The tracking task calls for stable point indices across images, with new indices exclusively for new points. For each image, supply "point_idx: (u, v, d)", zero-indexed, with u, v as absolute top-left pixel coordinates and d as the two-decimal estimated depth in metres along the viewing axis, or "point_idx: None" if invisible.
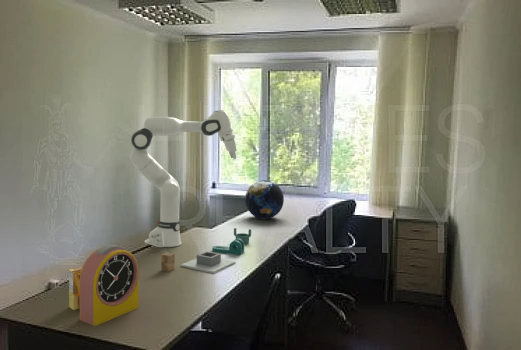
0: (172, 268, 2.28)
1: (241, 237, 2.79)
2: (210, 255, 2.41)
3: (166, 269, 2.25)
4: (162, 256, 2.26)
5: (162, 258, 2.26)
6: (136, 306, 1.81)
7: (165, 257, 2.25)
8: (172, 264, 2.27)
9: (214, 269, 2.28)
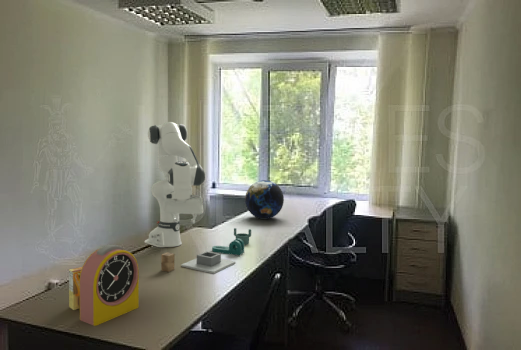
0: (172, 268, 2.28)
1: (241, 237, 2.79)
2: (210, 255, 2.41)
3: (166, 269, 2.25)
4: (162, 256, 2.26)
5: (162, 258, 2.26)
6: (136, 306, 1.81)
7: (165, 257, 2.25)
8: (172, 264, 2.27)
9: (214, 269, 2.28)
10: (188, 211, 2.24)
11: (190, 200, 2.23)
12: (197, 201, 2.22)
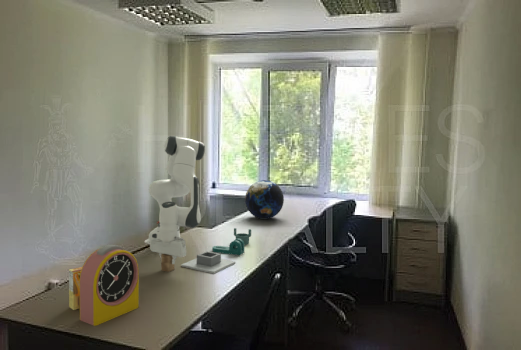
0: (172, 268, 2.28)
1: (241, 237, 2.79)
2: (210, 255, 2.41)
3: (166, 269, 2.25)
4: (162, 256, 2.26)
5: (162, 258, 2.26)
6: (136, 306, 1.81)
7: (165, 257, 2.25)
8: (172, 264, 2.27)
9: (214, 269, 2.28)
10: (171, 253, 2.24)
11: (173, 242, 2.23)
12: (179, 244, 2.21)
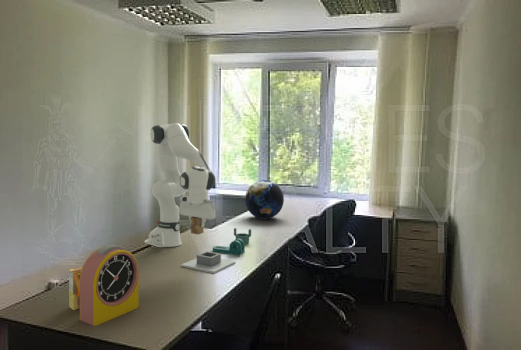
0: (201, 231, 2.33)
1: (241, 237, 2.79)
2: (210, 255, 2.41)
3: (196, 231, 2.31)
4: (192, 219, 2.31)
5: (192, 221, 2.31)
6: (136, 306, 1.81)
7: (195, 219, 2.30)
8: (201, 227, 2.32)
9: (214, 269, 2.28)
10: (201, 216, 2.29)
11: (203, 205, 2.28)
12: (209, 206, 2.26)
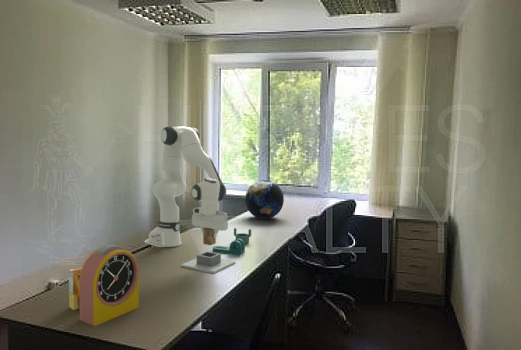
0: (214, 242, 2.36)
1: (241, 237, 2.79)
2: (210, 255, 2.41)
3: (208, 242, 2.34)
4: (204, 230, 2.35)
5: (204, 232, 2.35)
6: (136, 306, 1.81)
7: (208, 230, 2.34)
8: (214, 238, 2.36)
9: (214, 269, 2.28)
10: (213, 227, 2.33)
11: (215, 216, 2.32)
12: (221, 218, 2.30)
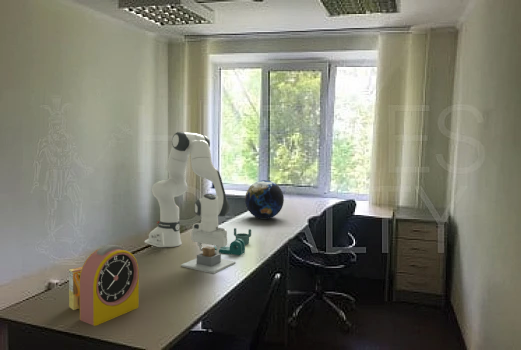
0: None
1: (241, 237, 2.79)
2: None
3: None
4: (203, 249, 2.36)
5: (203, 251, 2.36)
6: (136, 306, 1.81)
7: (207, 250, 2.35)
8: None
9: (214, 269, 2.28)
10: (213, 243, 2.34)
11: (215, 232, 2.32)
12: (221, 234, 2.31)
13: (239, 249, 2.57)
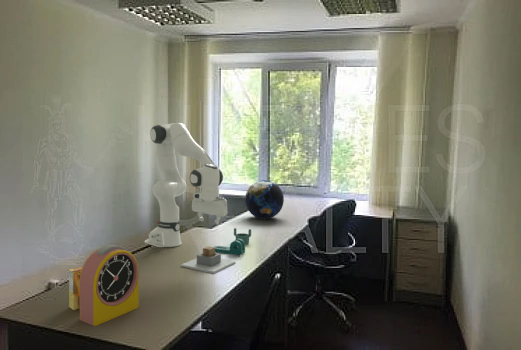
0: None
1: (241, 237, 2.79)
2: None
3: None
4: (203, 249, 2.36)
5: (203, 251, 2.36)
6: (136, 306, 1.81)
7: (207, 250, 2.35)
8: None
9: (214, 269, 2.28)
10: (213, 212, 2.34)
11: (215, 202, 2.33)
12: (221, 203, 2.31)
13: (239, 249, 2.57)
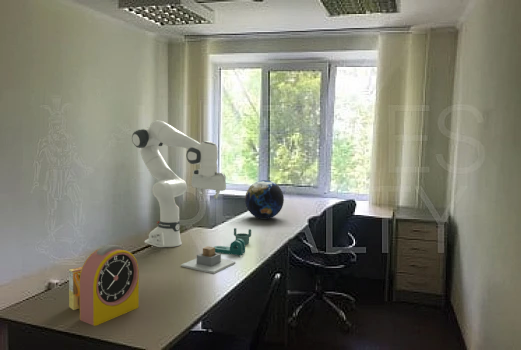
0: None
1: (241, 237, 2.79)
2: None
3: None
4: (203, 249, 2.36)
5: (203, 251, 2.36)
6: (136, 306, 1.81)
7: (207, 250, 2.35)
8: None
9: (214, 269, 2.28)
10: (212, 187, 2.43)
11: (214, 177, 2.42)
12: (220, 178, 2.40)
13: (239, 249, 2.57)
